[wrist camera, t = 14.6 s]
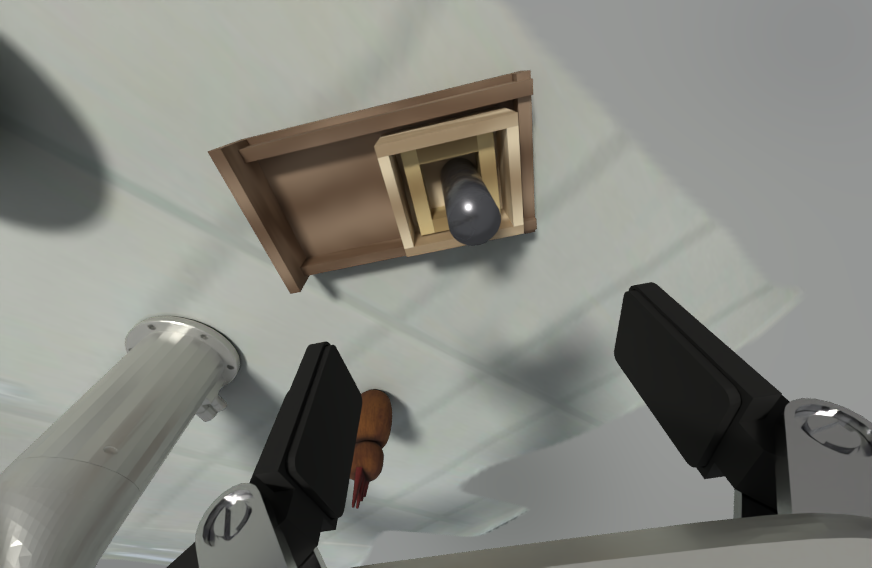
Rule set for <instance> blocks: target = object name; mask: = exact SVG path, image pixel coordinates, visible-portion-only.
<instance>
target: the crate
mask: <svg viewBox="0 0 872 568" xmlns="http://www.w3.org/2000/svg"><path fill="white" fill-rule="evenodd" d="M374 148H375V151H376V155H377V158H378V161H379V165H380V168H381V172H382V175H383V178H384V182H385V185H386V188H387V192H388V195H389V198H390V202H391V205H392V209H393V212H394V215H395V219H396V222H397V225H398V229H399V232H400V235H401V239H402V242H403V245H404V249H405V252H406V256H407V257H410V256H415V255H420V254H425V253H430V252H435V251H440V250H445V249H450V248H455V247H459V246H464V245H465V244H462V243H460V242H458V241H457V240H456V239H455V238H454V237H453V236H452V234H451V232H450V230H449V226H448V220H447V214H446V209H445V203H444V197H443V192H442V186H441V180H440V174H441V170H442V168H443V166H444V165H445V164H446V163H447V162H448V161H449V160H451V159H453V158H457V157H461V158H466V159H468V160H469V161H471V162H472V163H473V165H474V166H475V168H476V170H477V171H478V173H479V175H480V177H481V178H482V180H483V182H484V184H485V185H486V187H487V189H488V191H489V192H490V194H491V196H492V198H493V199H494V201H495V203H496V205H497V206H498V208H499V210H500V214H501V223H500V227H499V229H498V231H497V233H496V234H495V235H494V236H493V237H492V238H491V239H490V240H494V239H499V238H504V237H509V236H514V235H519V234H523V233H524V223H523V203H522V184H521V165H520V145H519V126H518V112H515V111H512V110H510V109H507V108H505V107H502V106H501V107H497V108H493V109H488V110H484V111H480V112H476V113H472V114H467V115H463V116H459V117H455V118H450V119H446V120H442V121H438V122H434V123H429V124H425V125H421V126H417V127H413V128H408V129H404V130H400V131H396V132H392V133H387V134H383V135H381V137H380V138H379V140H378V141H377V143H376V144H375V146H374Z"/></svg>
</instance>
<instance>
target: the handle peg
mask: <svg viewBox="0 0 872 568" xmlns="http://www.w3.org/2000/svg"><path fill="white" fill-rule="evenodd" d="M440 180H441V186H442V192H443V197H444V203H445V209H446V214H447V220H448V226H449V230H450V232H451V234H452V236H453V237H454V238H455V239H456V240H457V241H458V242H460V243H462V244H465V245H471V246H473V245H480V244H483V243H485V242H487V241H489V240H490V239H491V238H492V237H493V236H494V235H495V234H496V233H497V231H498V229H499V227H500V223H501V214H500V210H499V208H498V206H497V205H496V203H495V201H494V199H493V198H492V196H491V194H490V192H489V191H488V189H487V187H486V185H485V184H484V182H483V180H482V178H481V177H480V175H479V173H478V171H477V170H476V168H475V166H474V165H473V163H472V162H471V161H469V160H468V159H466V158H461V157H457V158H453V159H451V160H449V161H448V162H447V163H446V164H445V165H444V166H443V168H442V170H441V174H440Z"/></svg>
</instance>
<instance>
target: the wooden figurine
mask: <svg viewBox="0 0 872 568" xmlns="http://www.w3.org/2000/svg"><path fill="white" fill-rule="evenodd" d="M361 396H362V409H361V415H360V421H359V427H358V433H357V438H356V444H355V450H354V456H353V462H352V467H351V473H350V479H352V480H354V491H353V500H352V508H354V506H355V503H356V499H357V503H356V508H359V504H360V501H363V498H364V497H366V493H367V489H368V485H369V482H370V481H373V480H375V479H376V478H377V477H378V476H379V474H380V473H381V471H382V467H383V460H384V454H383V450H382V448H383V447H384V446H385V445H386V443H387V441H388V439H389V436H390V431H391V425H392V407H391V403H390V399H389V397H388V396H387V395H386V394H385V393H384V392H382V391H379V390H374V389H373V390H368V391H366V392H364V393H362V394H361Z"/></svg>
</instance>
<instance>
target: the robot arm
mask: <svg viewBox="0 0 872 568" xmlns="http://www.w3.org/2000/svg"><path fill="white" fill-rule="evenodd" d="M125 347H126V351H127V354H126V355H125V356H124V357H123V358H122V359H121V360H120V361H119V362H118V363H117V364H116V365H115V366H113V367H112V368H111V369H110V370H109V371H108V372H107V373H106V374H105V375H104V376H103V377H102V378H101V379H100V380H99V381H98V382H97V383H96V384H94V385H93V386H92V387H91V388H90V389H89V390H88V391H87V392H86V393H85V394H84V395H83V396H82V397H81V398H80V399H79V400H78V401H77V402H75V403H74V404H73V405H72V406H71V407H70V408H69V409H68V410H67V411H66V412H65V413H64V414H63V415H62V416H61V417H60V418H59V419H58V420H57V421H55V422H54V423H53V424H52V425H51V426H50V427H49V428H48V429H47V430H46V431H45V432H44V433H43V434H42V435H41V436H40V437H39V438H38V439H36V440H35V441H34V442H33V443H32V444H31V445H30V446H29V447H28V448H27V449H26V450H25V451H24V452H23V453H22V454H21V455H20V456H19V457H17V458H16V459H15V460H14V461H13V462H12V463H11V464H10V465H9V466H8V467H7V468H6V469H5V470H4V471H3V472H2V473H1V474H0V568H95V567H96V565H97V563H98V561H99V560H100V558H101V557H102V555H103V553H104V552H105V550H106V549H107V547H108V545H109V544H110V542H111V541H112V539H113V538H114V536H115V534H116V533H117V531H118V530H119V528H120V527H121V525H122V524H123V522H124V521H125V519H126V518H127V516H128V515H129V513H130V512H131V510H132V509H133V507H134V505H135V504H136V502H137V501H138V499H139V498H140V497H141V495H142V494H143V492H144V491H145V489H146V488H147V486H148V485H149V483H150V482H151V480H152V479H153V477H154V476H155V474H156V473H157V471H158V470H159V468H160V467H161V465H162V464H163V462H164V461H165V459H166V458H167V456H168V455H169V453H170V452H171V450H172V449H173V447H174V446H175V444H176V443H177V441H178V440H179V438H180V437H181V435H182V434H183V432H184V431H185V429H186V428H187V426H188V425H189V423H190V422H191V420H192V418H193V417H194V415H195V414H197V415H198V416H199V417H200V418H201V419H202V420H203V421H204V422H207V421H210V420H211V419H213V418H214V417H215V416H216V415H217V412H220V411H223V410H224V409H225V408H226V407H227V403H226V402H225V401H224V400H223V399H222V398H221V397H220V396H219V391H220V389H221V387H224V386H226V385H227V384H229V383H230V382H231V381H232V380H233V379H234V378H235V376H236V375H237V373H238V371H239V368H240V359H239V355H238V353H237V351H236V349H235V348H234V347H233V345H232V344H231V343H230V342H229V341H228V340H227V339H226V338H225V337H224V336H223V335H221V334H220V333H218V332H217V331H215V330H214V329H212V328H210V327H208V326H206V325H204V324H201V323H199V322H196V321H193V320H189V319H185V318H180V317H173V316H158V317H152V318H148V319H145V320H143V321H141V322H140V323H138V324H137V325H135V326H134V327H133V328H132V329H131V330H130V331H129V332H128V334H127V336H126V338H125ZM614 356H615V359H616V361H617V363H618V364H619V366H620V367H621V369H622V370H623V372H624V373H625V374H626V376H627V377H628V379H629V380H630V382H631V383H632V385H633V386H634V387H635V389H636V390H637V392H638V393H639V395H640V396H641V397H642V399H643V400H644V402H645V403H646V405H647V406H648V407H649V409H650V410H651V412H652V413H653V415H654V416H655V418H656V419H657V420H658V422H659V423H660V425H661V426H662V428H663V429H664V431H665V432H666V433H667V435H668V436H669V438H670V439H671V441H672V442H673V443H674V445H675V446H676V448H677V449H678V451H679V452H680V454H681V455H682V456H683V458H684V459H685V461H686V462H687V463H688V464H689V465H690V466H692V467H696V468H697V469H698V470H699V472H700V473H701V475H702V476H703V477H704V479H708V478H716V477H722V476H725V477H726V478H727V480H728V481H729V482H730V483H731V485H732V486H733V487H734V518H733V519H727V520H718V521H708V522H699V523H690V524H683V525H674V526H667V527H658V528H650V529H642V530H634V531H626V532H618V533H610V534H602V535H593V536H586V537H578V538H570V539H562V540H555V541H546V542H539V543H531V544H523V545H515V546H508V547H500V548H493V549H484V550H477V551H469V552H462V553H454V554H447V555H439V556H432V557H424V558H417V559H409V560H402V561H395V562H387V563H379V564H372V565H366V566H359V567H353V568H872V423H871V422H870V421H868V420H867V419H865V418H864V417H863V416H861V415H859V414H857V413H855V412H853V411H851V410H849V409H847V408H845V407H843V406H840V405H837V404H834V403H831V402H827V401H823V400H818V399H809V398H801V399H796V400H793V401H791V402H789V401H788V400H787V399H786V398H785V397H784V396H782V395H781V394H782V393H781V392H779V391H778V390H777V389H776V388H775V387H774V386H773V385H771V384H770V383H769V382H768V381H767V380H766V379H764V378H763V377H762V376H761V375H760V374H759V373H757V372H756V371H755V370H754V369H753V368H752V367H751V366H750V365H748V364H747V363H746V362H745V361H744V360H743V359H742V358H740V357H739V356H738V355H737V354H736V353H735V352H734V351H732V350H731V349H730V348H729V347H728V346H727V345H726V344H724V343H723V342H722V341H721V340H720V339H719V338H717V337H716V336H715V335H714V334H713V333H712V332H711V331H709V330H708V329H707V328H706V327H705V326H704V325H703V324H701V323H700V322H699V321H698V320H697V319H696V318H695V317H693V316H692V315H691V314H690V313H689V312H688V311H687V310H685V309H684V308H683V307H682V306H681V305H680V304H679V303H677V302H676V301H675V300H674V299H673V298H672V297H670V296H669V295H668V294H667V293H666V292H665V291H664V290H662V289H661V288H660V287H659V286H658V285H657V284H655V283H652V282H650V283H645V284H639V285H634V286H631V287H630V288H629V291H627V292H625V294H624V298H623V303H622V309H621V315H620V320H619V326H618V332H617V338H616V343H615V349H614ZM361 409H362V396H361V393H360V391H359V389H358V388H357V386H356V384H355V382H354V380H353V378H352V376H351V374H350V372H349V371H348V369H347V367H346V365H345V363H344V361H343V359H342V357H341V356H340V354H339V352H338V350H337V348H336V346H335V345H330V343H329V342H321V343H316V344H310V345H309V346H308V347H307V349H306V352H305V354H304V357H303V359H302V361H301V364H300V366H299V369H298V371H297V374H296V376H295V378H294V381H293V383H292V386H291V388H290V390H289V391H288V393H287V395H286V396H285V399H284V401H283V404H282V406H281V408H280V411H279V413H278V416H277V418H276V420H275V423H274V425H273V428H272V430H271V432H270V435H269V437H268V439H267V442H266V444H265V447H264V449H263V451H262V454H261V456H260V459H259V461H258V463H257V466H256V468H255V471H254V473H253V475H252V478H251V480H250V483H241V484H238V485H236V486H233V487H231V488H230V489H228V490H227V491H225V492H224V493H222V494H221V495H220V496H219V497H218V498H217V499H216V500H215V501H214V502H213V503H212V504H211V505H210V507H209V508H208V509H207V510H206V512H205V513H204V515H203V517H202V519H201V521H200V522H199V525H198V528H197V531H196V538H195V542H194V543H193V544H192V545H191V546H190V547H189V548H188V549H187V550H185V551H184V552H183V553H182V554H181V555H180V556H179V557H178V558H177V559H176V560H174V561H173V562H172V563H171V564H170V565H169V566H168V567H167V568H327V567H326V565H325V563H324V560H323V558H322V556H321V554H320V552H319V550H318V547H317V546H318V542H319V537H320V532H323V531H331V530H336V525H337V520H338V518H339V517H341V516H342V515H343V512H344V508H345V502H346V497H347V491H348V485H349V479H350V473H351V467H352V462H353V456H354V450H355V444H356V438H357V433H358V427H359V421H360V415H361Z"/></svg>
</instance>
